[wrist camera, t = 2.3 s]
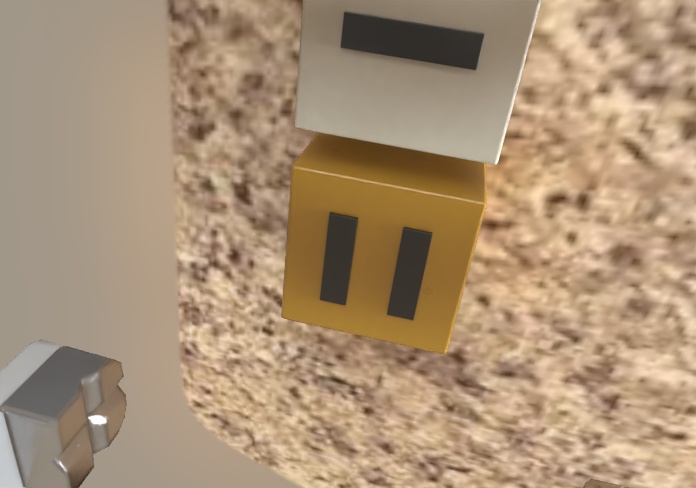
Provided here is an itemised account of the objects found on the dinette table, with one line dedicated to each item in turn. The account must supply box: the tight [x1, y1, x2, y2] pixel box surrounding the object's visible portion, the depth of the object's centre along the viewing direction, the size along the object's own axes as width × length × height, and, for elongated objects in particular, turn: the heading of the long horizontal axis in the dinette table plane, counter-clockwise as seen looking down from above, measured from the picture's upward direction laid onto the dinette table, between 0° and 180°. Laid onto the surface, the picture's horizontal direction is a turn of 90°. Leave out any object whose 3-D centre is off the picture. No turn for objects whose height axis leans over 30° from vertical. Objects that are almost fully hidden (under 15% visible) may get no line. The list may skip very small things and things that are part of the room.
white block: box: [294, 0, 542, 164], centre depth 13 cm, size 5×5×5 cm
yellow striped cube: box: [281, 132, 487, 354], centre depth 16 cm, size 5×5×5 cm
